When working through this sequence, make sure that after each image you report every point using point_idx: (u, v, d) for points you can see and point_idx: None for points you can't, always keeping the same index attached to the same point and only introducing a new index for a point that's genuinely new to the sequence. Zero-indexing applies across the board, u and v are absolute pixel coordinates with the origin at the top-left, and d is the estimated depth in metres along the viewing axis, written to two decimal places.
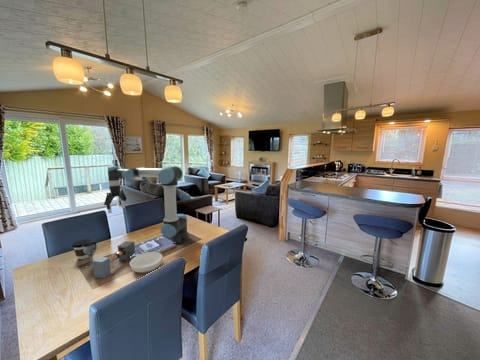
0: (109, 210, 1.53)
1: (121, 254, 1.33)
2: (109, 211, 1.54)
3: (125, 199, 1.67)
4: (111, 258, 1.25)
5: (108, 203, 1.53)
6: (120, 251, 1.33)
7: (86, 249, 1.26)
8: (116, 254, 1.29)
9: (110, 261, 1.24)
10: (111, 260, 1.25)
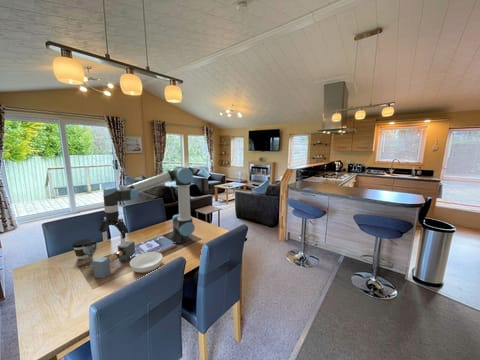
0: None
1: (121, 254, 1.33)
2: None
3: (122, 233, 1.25)
4: (111, 258, 1.25)
5: (105, 229, 1.29)
6: (120, 251, 1.33)
7: (86, 249, 1.26)
8: (116, 254, 1.29)
9: (110, 261, 1.24)
10: (111, 260, 1.25)
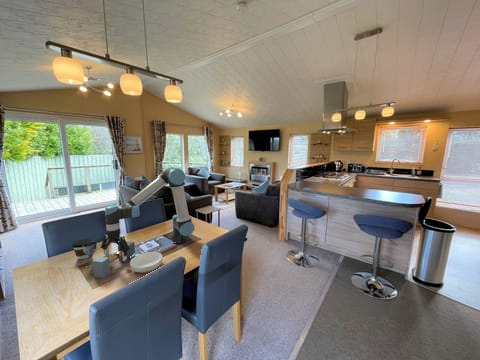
0: None
1: (121, 254, 1.33)
2: None
3: (123, 251, 1.26)
4: (111, 258, 1.25)
5: (107, 246, 1.31)
6: (120, 251, 1.33)
7: (86, 249, 1.26)
8: (116, 254, 1.29)
9: (110, 261, 1.24)
10: (111, 260, 1.25)
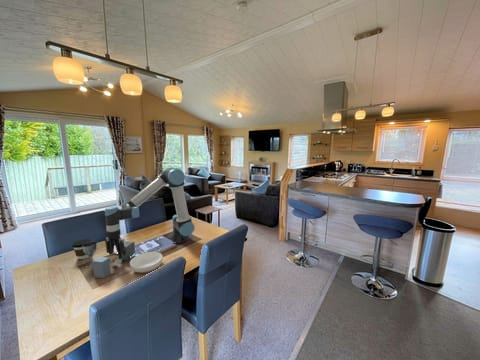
0: None
1: None
2: None
3: (118, 254, 1.28)
4: (111, 258, 1.25)
5: (113, 250, 1.31)
6: None
7: (86, 249, 1.26)
8: (116, 254, 1.29)
9: (110, 261, 1.24)
10: (111, 260, 1.25)
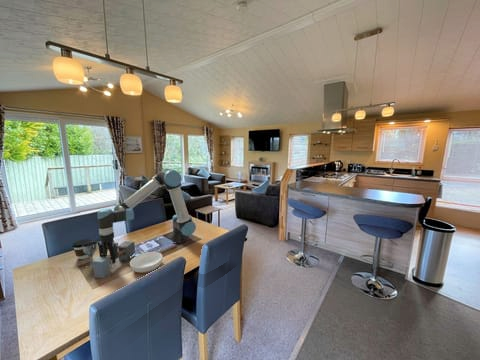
0: None
1: (115, 258, 1.27)
2: None
3: (112, 258, 1.23)
4: None
5: (106, 254, 1.26)
6: None
7: (86, 249, 1.26)
8: (109, 258, 1.24)
9: None
10: None
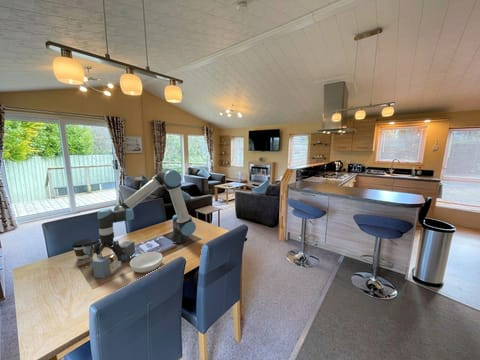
0: None
1: (115, 258, 1.27)
2: None
3: (117, 256, 1.21)
4: None
5: (100, 251, 1.26)
6: (114, 255, 1.28)
7: (86, 249, 1.26)
8: (109, 258, 1.24)
9: None
10: None
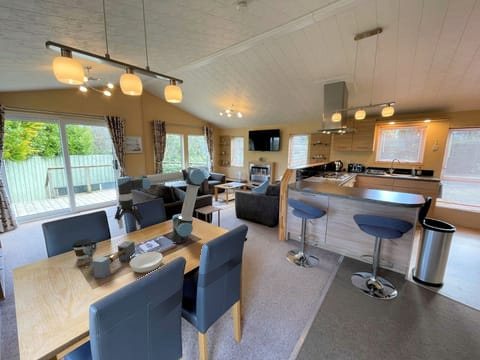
0: None
1: (115, 258, 1.27)
2: None
3: (137, 219, 1.32)
4: None
5: (121, 217, 1.37)
6: (114, 255, 1.28)
7: (86, 249, 1.26)
8: (109, 258, 1.24)
9: None
10: None
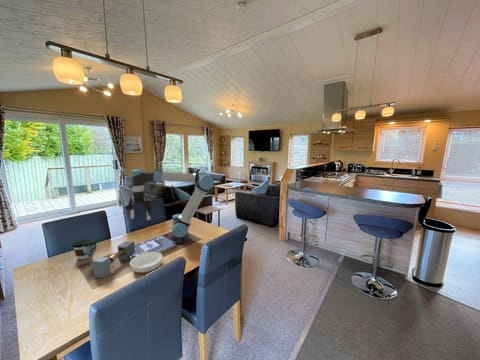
0: None
1: (115, 258, 1.27)
2: None
3: (148, 210, 1.40)
4: None
5: (132, 208, 1.45)
6: (114, 255, 1.28)
7: (86, 249, 1.26)
8: (109, 258, 1.24)
9: None
10: None
